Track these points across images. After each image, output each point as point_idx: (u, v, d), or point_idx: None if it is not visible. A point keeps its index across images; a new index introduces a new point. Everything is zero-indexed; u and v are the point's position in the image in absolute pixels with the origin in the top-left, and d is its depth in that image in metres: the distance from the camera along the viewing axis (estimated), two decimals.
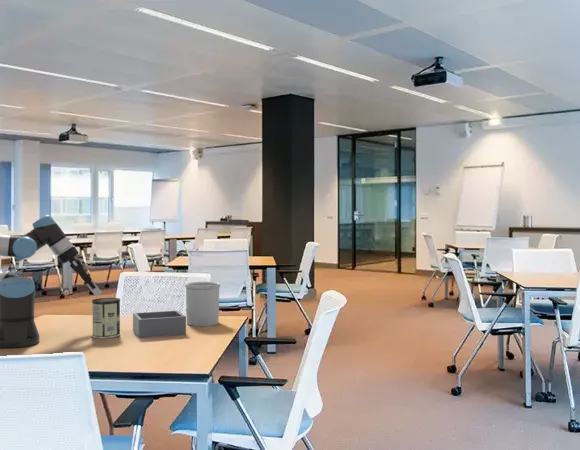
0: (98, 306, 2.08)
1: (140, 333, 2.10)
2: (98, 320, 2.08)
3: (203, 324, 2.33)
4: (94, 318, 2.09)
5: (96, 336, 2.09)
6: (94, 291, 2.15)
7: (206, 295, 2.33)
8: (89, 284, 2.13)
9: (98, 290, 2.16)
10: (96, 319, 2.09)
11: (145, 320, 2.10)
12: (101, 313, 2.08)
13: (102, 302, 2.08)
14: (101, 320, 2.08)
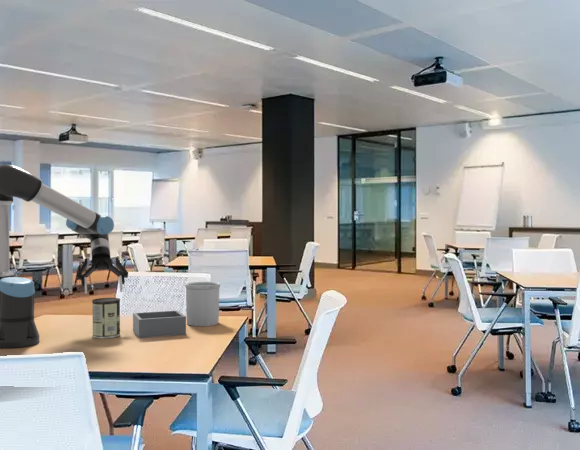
0: (98, 306, 2.08)
1: (140, 333, 2.10)
2: (98, 320, 2.08)
3: (203, 324, 2.33)
4: (94, 318, 2.09)
5: (96, 336, 2.09)
6: None
7: (206, 295, 2.33)
8: (124, 277, 2.29)
9: None
10: (96, 319, 2.09)
11: (145, 320, 2.10)
12: (101, 313, 2.08)
13: (102, 302, 2.08)
14: (101, 320, 2.08)
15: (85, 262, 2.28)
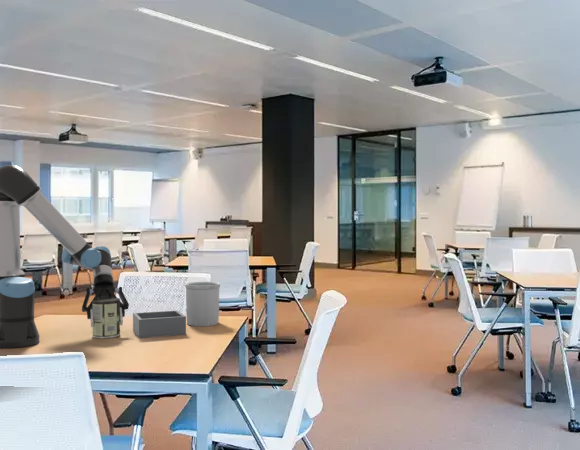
0: (98, 306, 2.08)
1: (140, 333, 2.10)
2: (98, 320, 2.08)
3: (203, 324, 2.33)
4: (94, 318, 2.09)
5: (96, 336, 2.09)
6: (122, 317, 2.14)
7: (206, 295, 2.33)
8: (124, 310, 2.17)
9: None
10: (96, 319, 2.09)
11: (145, 320, 2.10)
12: (101, 313, 2.08)
13: (102, 302, 2.08)
14: (101, 320, 2.08)
15: (88, 292, 2.17)
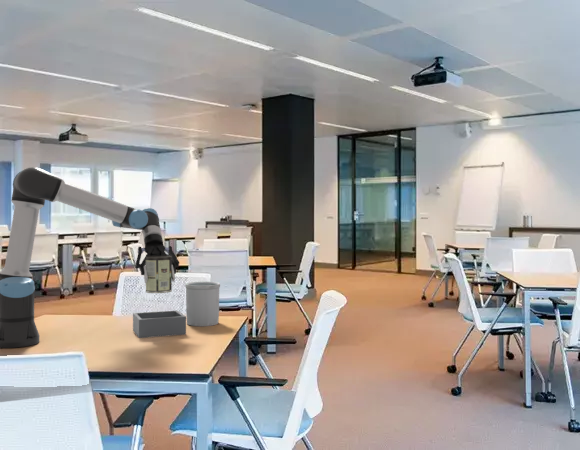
0: (151, 262, 2.15)
1: (140, 333, 2.10)
2: (152, 275, 2.15)
3: (203, 324, 2.33)
4: (148, 274, 2.16)
5: (150, 291, 2.16)
6: None
7: (206, 295, 2.33)
8: (175, 267, 2.24)
9: None
10: (150, 275, 2.16)
11: (145, 320, 2.10)
12: (155, 269, 2.15)
13: (156, 258, 2.15)
14: (155, 276, 2.15)
15: (140, 250, 2.24)
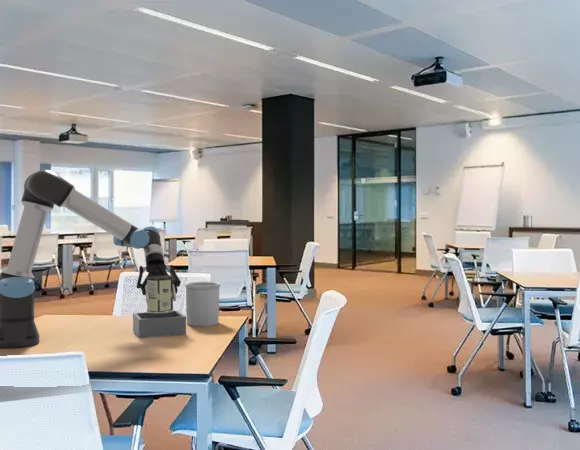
0: (153, 282, 2.16)
1: (140, 333, 2.10)
2: (153, 295, 2.16)
3: (203, 324, 2.33)
4: (149, 294, 2.17)
5: (151, 311, 2.16)
6: None
7: (206, 295, 2.33)
8: (176, 286, 2.24)
9: None
10: (151, 295, 2.16)
11: (145, 320, 2.10)
12: (156, 289, 2.15)
13: (157, 278, 2.15)
14: (156, 296, 2.16)
15: (141, 269, 2.24)
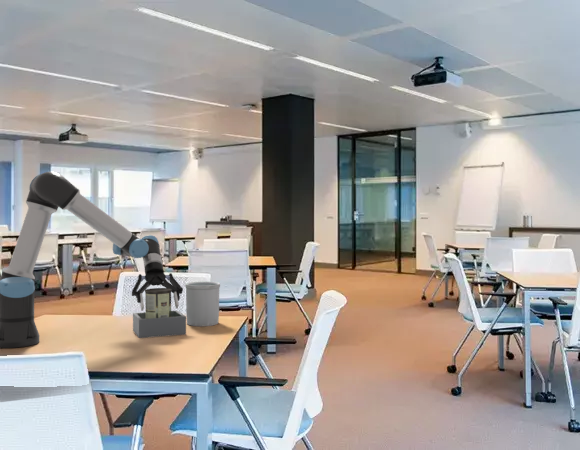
0: (151, 295, 2.15)
1: (140, 333, 2.10)
2: (151, 309, 2.15)
3: (203, 324, 2.33)
4: (148, 307, 2.16)
5: None
6: None
7: (206, 295, 2.33)
8: None
9: None
10: (150, 308, 2.16)
11: (145, 320, 2.10)
12: (155, 303, 2.15)
13: (155, 292, 2.15)
14: (154, 310, 2.15)
15: (139, 278, 2.24)
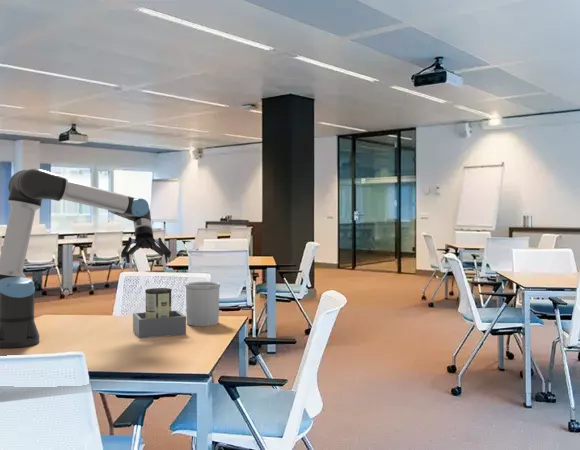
0: (151, 295, 2.16)
1: (140, 333, 2.10)
2: (151, 309, 2.16)
3: (203, 324, 2.33)
4: (148, 307, 2.16)
5: None
6: None
7: (206, 295, 2.33)
8: None
9: None
10: (150, 308, 2.16)
11: (145, 320, 2.10)
12: (155, 303, 2.15)
13: (156, 292, 2.15)
14: (154, 309, 2.15)
15: (129, 240, 2.32)
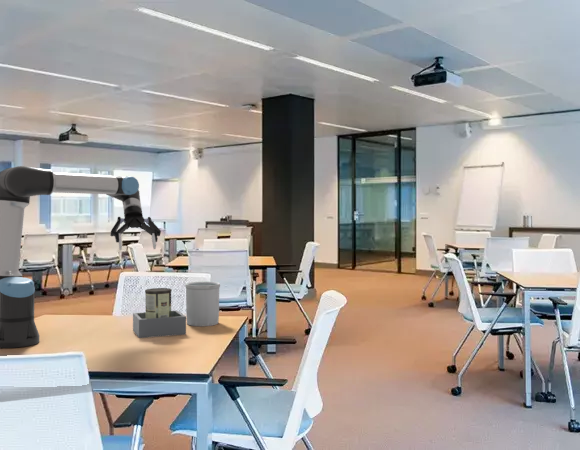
0: (151, 295, 2.15)
1: (140, 333, 2.10)
2: (151, 309, 2.15)
3: (203, 324, 2.33)
4: (148, 307, 2.16)
5: None
6: None
7: (206, 295, 2.33)
8: (156, 235, 2.32)
9: None
10: (150, 308, 2.16)
11: (145, 320, 2.10)
12: (155, 303, 2.15)
13: (155, 292, 2.15)
14: (154, 310, 2.15)
15: (118, 220, 2.31)
